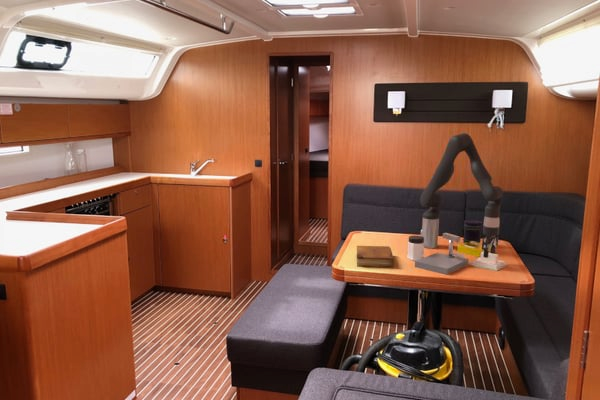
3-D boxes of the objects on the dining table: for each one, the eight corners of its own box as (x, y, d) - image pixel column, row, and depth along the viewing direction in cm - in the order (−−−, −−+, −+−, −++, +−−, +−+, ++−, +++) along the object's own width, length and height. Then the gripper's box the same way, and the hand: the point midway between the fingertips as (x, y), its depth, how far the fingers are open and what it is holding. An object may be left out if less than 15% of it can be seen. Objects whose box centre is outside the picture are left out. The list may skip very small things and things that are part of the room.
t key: (461, 260, 247) (462, 239, 246) (442, 253, 260) (443, 233, 258) (464, 259, 249) (465, 238, 247) (445, 252, 261) (446, 232, 259)
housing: (414, 266, 248) (415, 260, 248) (436, 257, 265) (437, 251, 264) (447, 274, 236) (447, 268, 235) (468, 264, 252) (468, 258, 252)
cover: (473, 263, 252) (474, 253, 251) (481, 259, 259) (482, 249, 258) (496, 268, 243) (497, 258, 243) (504, 264, 251) (504, 254, 250)
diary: (393, 269, 247) (394, 258, 246) (356, 267, 249) (357, 257, 248) (390, 256, 269) (390, 246, 268) (356, 255, 271) (356, 245, 270)
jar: (421, 256, 267) (422, 235, 265) (425, 260, 259) (426, 239, 257) (405, 256, 267) (406, 235, 265) (408, 260, 259) (409, 239, 257)
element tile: (455, 252, 277) (455, 243, 276) (470, 247, 286) (470, 239, 286) (479, 257, 266) (479, 249, 265) (493, 253, 275) (494, 245, 274)
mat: (469, 265, 251) (469, 264, 251) (481, 259, 261) (481, 258, 261) (496, 271, 241) (496, 269, 241) (507, 265, 251) (507, 263, 251)
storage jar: (483, 246, 288) (485, 221, 286) (473, 248, 283) (474, 223, 280) (469, 242, 296) (471, 218, 294) (459, 245, 291) (460, 220, 289)
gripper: (492, 228, 240) (490, 260, 243) (504, 224, 250) (502, 254, 253) (478, 226, 245) (476, 257, 248) (489, 222, 255) (487, 251, 258)
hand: (489, 255), depth 250 cm, fingers open, 8 cm apart
